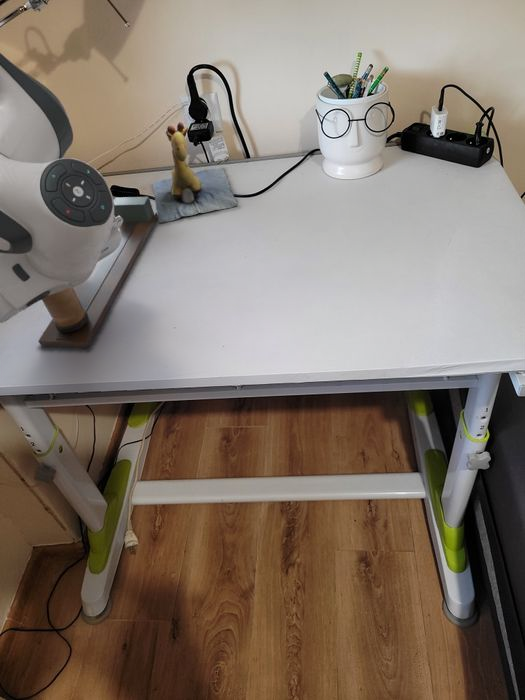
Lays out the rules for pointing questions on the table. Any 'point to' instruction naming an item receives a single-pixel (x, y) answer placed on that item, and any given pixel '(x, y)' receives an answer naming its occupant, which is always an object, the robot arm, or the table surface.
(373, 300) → the table surface
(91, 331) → the track board
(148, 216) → the stop block
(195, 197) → the stuffed giraffe
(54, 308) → the upright wooden cylinder
